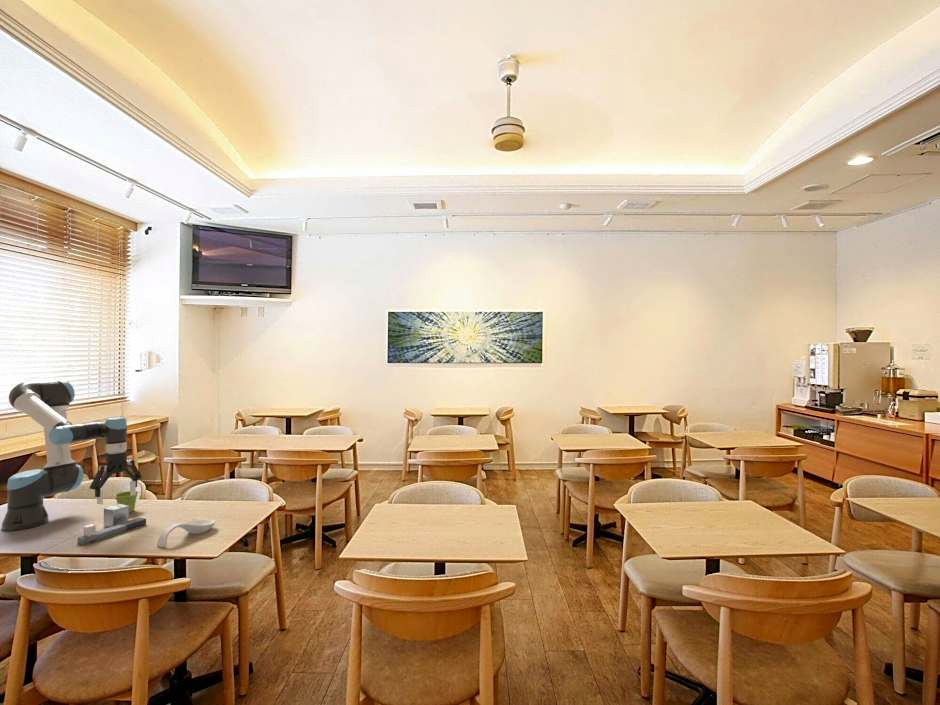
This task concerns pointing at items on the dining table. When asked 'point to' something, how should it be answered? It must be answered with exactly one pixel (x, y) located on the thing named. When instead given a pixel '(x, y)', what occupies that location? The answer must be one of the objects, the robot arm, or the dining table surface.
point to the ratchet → (108, 531)
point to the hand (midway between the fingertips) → (116, 499)
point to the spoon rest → (190, 527)
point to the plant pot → (127, 499)
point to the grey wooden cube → (116, 515)
